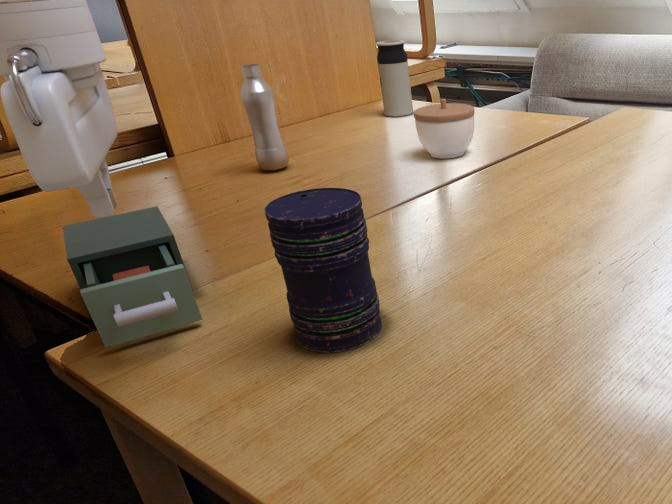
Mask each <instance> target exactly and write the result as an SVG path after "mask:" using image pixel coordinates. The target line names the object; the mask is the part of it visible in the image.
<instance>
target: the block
mask: <svg viewBox="0 0 672 504" xmlns="http://www.w3.org/2000/svg"><path fill="white" fill-rule="evenodd" d="M148 272H151V271H150V268H149V266H144V267H140V268H136V269H132V270H128V271H124V272H120V273H116V274H112V276H113V279H114V281H116V280H120V279H124V278H128V277H132V276H136V275H140V274H144V273H148Z"/></svg>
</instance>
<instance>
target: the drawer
mask: <svg viewBox="0 0 672 504" xmlns="http://www.w3.org/2000/svg"><path fill="white" fill-rule="evenodd" d="M83 265H84V271H85V276H86V281H87V286H88V288H84V289H80V290H79V292H80V295H81V298H82V300H83V302H84V304H85V307H86V309H87V311H88V313H89V315H90V318H91V319H92V322H93V324H94V326H95V328H96V330H97V333H98V335H99V337H100V339H101V342H102V343H103V345H104V347H105V348H110V347H114V346H117V345H120V344H124V343H128V342H131V341H134V340H138V339H141V338H145V337H148V336H151V335H155V334H158V333H162V332H165V331H169V330H172V329H175V328H179V327H183V326H186V325H188V324H192V323H196V322H199V321H203V317H202V314H201V312H200V311H201V310H200V308H199V306H198V303H197V300H196V296H195V297H194V295H195V293H194V294H193V292H194V290H193V291H192V289H193V287H192V288H191V286H192V284H191V285H190V283H191V281H190V282H189V280H190V278H189V279H188V277H189V276H188V277H187V275H188V273H187V274H186V272H187V270H186V271H185V269H186V267H185V268H184V266H185V265H184V266H183V264H179V265H175V263H174V261H173V260H172V258H171V256H170V254H169V252H168V250H167V248H166V246H165V244H164V243H162V244H158V245H153V246H149V247H145V248H141V249H136V250H132V251H128V252H124V253H120V254H115V255H111V256H107V257H103V258H98V259H94V260H90V261H86V262H83ZM144 266H149V268H150V271H151V272H148V273H144V274H140V275H136V276H132V277H128V278H124V279H120V280H116V281H114V279H113V276H112V274H116V273H120V272H124V271H128V270H132V269H136V268H140V267H144Z"/></svg>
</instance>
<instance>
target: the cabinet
mask: <svg viewBox="0 0 672 504" xmlns="http://www.w3.org/2000/svg"><path fill="white" fill-rule="evenodd" d="M163 215H164V214H162V212H161V210H160V209H159V207H158V205H157V206H151V207H146V208H141V209H138V210H132V211H128V212H124V213H119V214H113V215H111V216H107V217H101V218H96V219H91V220H86V221H81V222H77V223H71V224H66V225H63V226H62V230H63V239H64V245H65V253H66V255H65V256H66V260H67V262H68V265H69V268H70V270H71V272H72V274H73V276H74V278H75V280H76V283H77V284H78V286H79V289H80V290H81V289H84V288H88V286H87V281H86V276H85V271H84V265H83V262H86V261H90V260H94V259H98V258H103V257H107V256H111V255H115V254H120V253H124V252H128V251H132V250H136V249H141V248H145V247H149V246H153V245H158V244H162V243H164V244H165V246H166V248H167V250H168V252H169V254H170V256H171V258H172V260H173V261H174V263H175V265H179V264H183V266H184V268H185V271H186V274H187V277H188V279H189V282H190V285H191V288H192V291H193V294H194V297H195V298H196V295H195V292H194V289H193V287H192V284H191V281H190V278H189V276H188V272H187V269H186V266H185V263H184V260H183V257H182V254H181V252H180V249H179V246H178V244H177V240H176V237H175V235H174V233H173V231H172V229H171V228H170V226H169V224H168V223H167V221H166V219H165V217H164V216H163Z"/></svg>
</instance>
